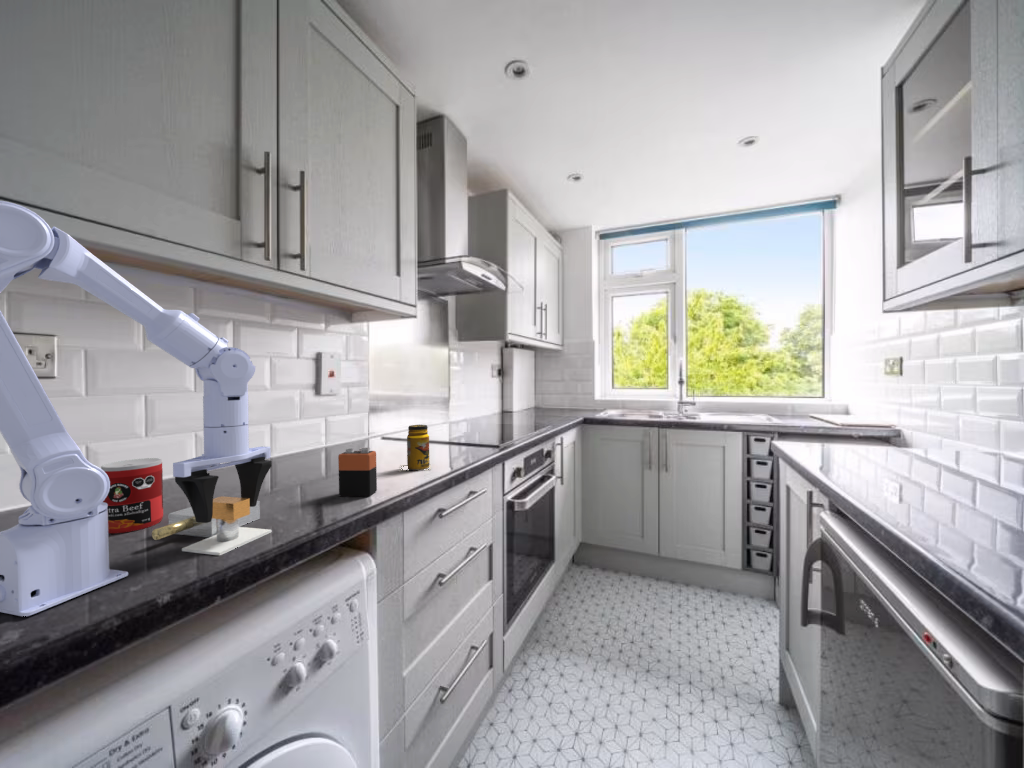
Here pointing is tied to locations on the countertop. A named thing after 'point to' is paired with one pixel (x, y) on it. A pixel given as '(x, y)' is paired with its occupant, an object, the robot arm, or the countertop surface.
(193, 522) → the hollow block with rod
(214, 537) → the mat
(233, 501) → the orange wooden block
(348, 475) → the battery
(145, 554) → the countertop surface
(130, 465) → the canned food
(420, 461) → the condiment
